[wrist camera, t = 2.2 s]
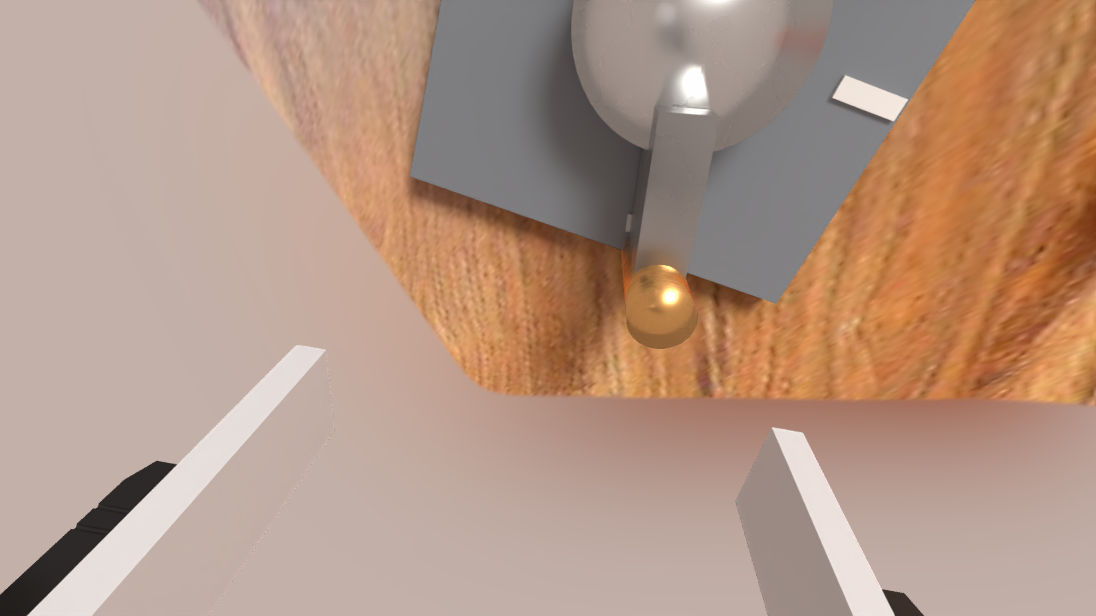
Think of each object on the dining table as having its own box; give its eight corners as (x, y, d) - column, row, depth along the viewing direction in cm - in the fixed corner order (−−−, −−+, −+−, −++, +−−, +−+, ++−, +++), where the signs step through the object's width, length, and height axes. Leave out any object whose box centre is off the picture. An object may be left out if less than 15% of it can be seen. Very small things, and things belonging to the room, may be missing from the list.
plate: (418, 169, 28) (408, 177, 27) (530, -424, 17) (523, -467, 16) (768, 291, 30) (777, 305, 28) (1071, -183, 19) (1111, -202, 17)
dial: (585, -122, 20) (576, -197, 13) (839, -112, 19) (955, -184, 13) (557, 270, 28) (544, 337, 22) (732, 285, 28) (770, 359, 21)
